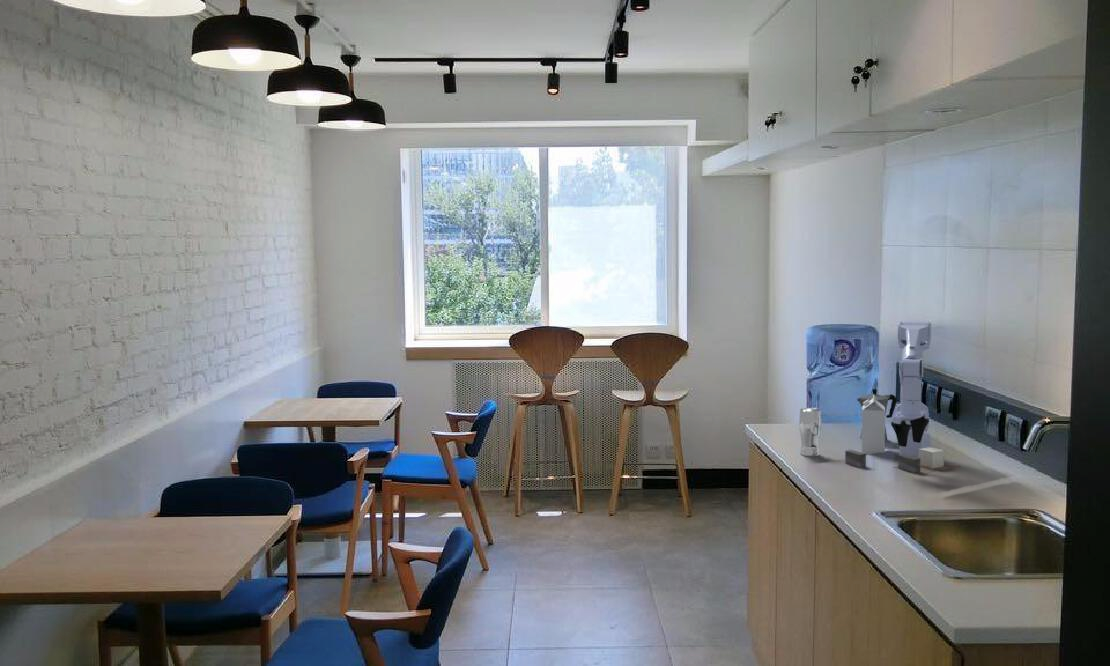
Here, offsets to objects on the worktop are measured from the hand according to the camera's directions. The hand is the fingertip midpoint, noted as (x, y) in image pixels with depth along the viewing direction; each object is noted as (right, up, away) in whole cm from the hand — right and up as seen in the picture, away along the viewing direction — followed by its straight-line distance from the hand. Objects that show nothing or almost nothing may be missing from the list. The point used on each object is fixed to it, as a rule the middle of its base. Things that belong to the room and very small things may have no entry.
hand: (909, 444), depth 268 cm
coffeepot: (+7, -4, +47) cm, 48 cm away
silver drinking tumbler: (-22, -7, +28) cm, 36 cm away
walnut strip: (+7, -9, +4) cm, 12 cm away
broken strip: (-7, -8, +12) cm, 16 cm away
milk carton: (-1, -7, +27) cm, 28 cm away
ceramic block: (+9, -7, +5) cm, 12 cm away
